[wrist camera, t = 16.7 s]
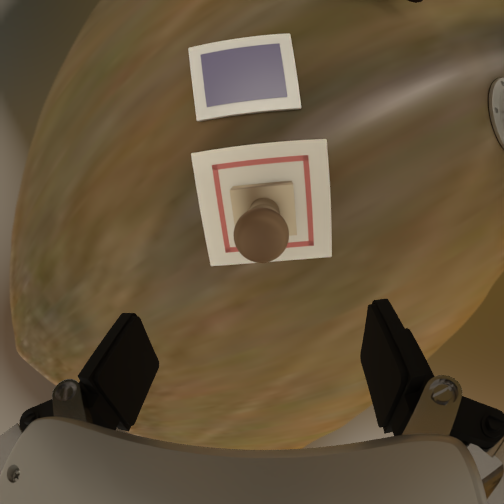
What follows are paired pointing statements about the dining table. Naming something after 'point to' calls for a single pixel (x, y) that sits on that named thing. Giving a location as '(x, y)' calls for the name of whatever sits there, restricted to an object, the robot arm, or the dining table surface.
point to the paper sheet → (265, 171)
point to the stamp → (263, 219)
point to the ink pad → (244, 76)
